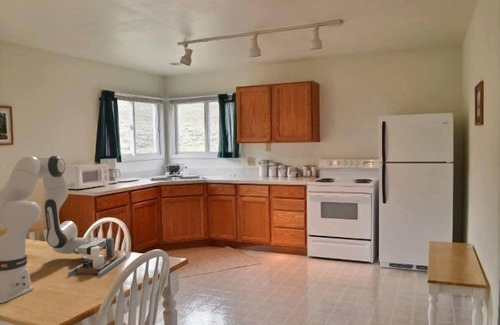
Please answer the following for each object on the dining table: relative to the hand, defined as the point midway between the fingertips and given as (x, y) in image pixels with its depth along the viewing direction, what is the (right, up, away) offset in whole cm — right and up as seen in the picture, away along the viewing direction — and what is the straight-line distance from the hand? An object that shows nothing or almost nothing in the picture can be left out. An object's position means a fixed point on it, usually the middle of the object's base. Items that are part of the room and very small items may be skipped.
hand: (107, 246), depth 212 cm
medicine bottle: (0, -8, -18) cm, 20 cm away
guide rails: (+1, -8, -12) cm, 15 cm away
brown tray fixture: (+1, -8, -11) cm, 13 cm away
